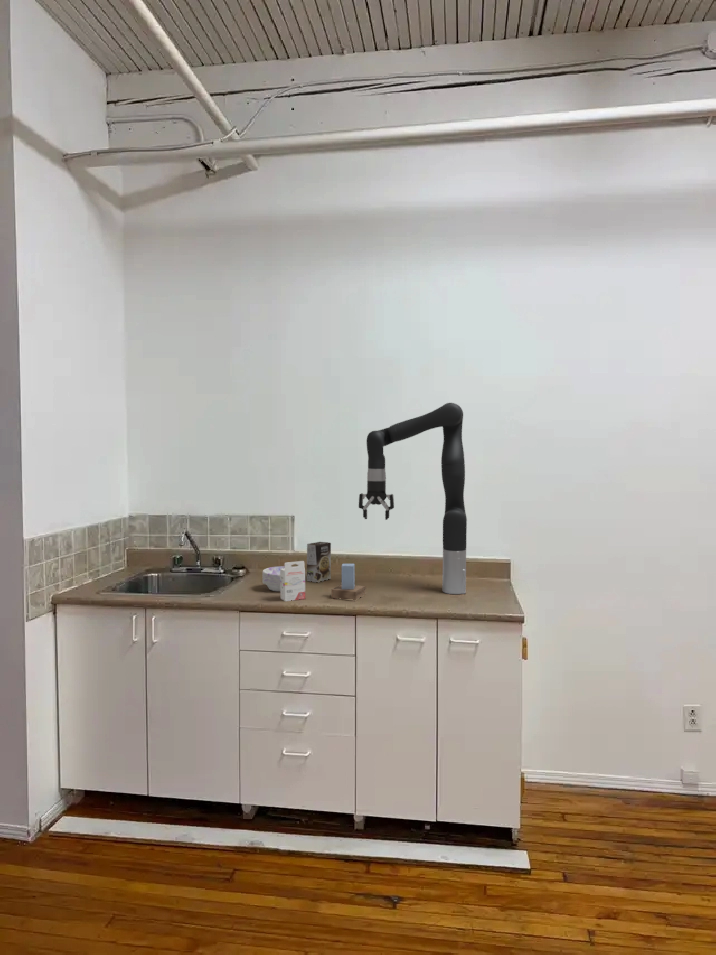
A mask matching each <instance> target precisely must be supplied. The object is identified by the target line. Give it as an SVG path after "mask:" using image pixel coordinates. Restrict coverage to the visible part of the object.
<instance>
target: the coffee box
mask: <svg viewBox="0 0 716 955" xmlns="http://www.w3.org/2000/svg"><path fill="white" fill-rule="evenodd" d="M331 548H332V543H331V542H326V541H317V542H311V543H307V544H306V581H307V582H311V581H312V583H316V582H318V583H321V582H320V581H322V582H325V581H324V580H326V581H329V580H328V579H330V580H331V576H332V573H331V572H332V570H331V566H332V565H331V564H332V562H331V559H332V558H331V556H332V553H331V552H332V551H331V550H332V549H331Z"/></svg>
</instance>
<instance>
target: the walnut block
mask: <svg viewBox="0 0 716 955" xmlns="http://www.w3.org/2000/svg"><path fill="white" fill-rule="evenodd" d="M366 587H367V586H365V585H356V584H355V587H354V589H342V583H341V584H340V585H339V584H338V585H336V586H335V587H333V588H332V589H331V599H332V598H341V599H353V600H356V599H358V598H360V597H361V596H363V595H365V594H366V589H367V588H366ZM365 596H366V595H365ZM360 599H361V598H360ZM358 600H359V599H358Z"/></svg>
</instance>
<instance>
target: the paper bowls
mask: <svg viewBox="0 0 716 955" xmlns="http://www.w3.org/2000/svg"><path fill="white" fill-rule="evenodd" d="M284 568H285V565H283V566H282V565H281V566H271V567H267V568H264V569H263V570H262V574H261V575H262V579H261V580H262V584H263V585H266V586H267V588H268V589H269V590H270V591H273V592H280V569H284Z"/></svg>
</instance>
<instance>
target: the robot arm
mask: <svg viewBox="0 0 716 955" xmlns="http://www.w3.org/2000/svg"><path fill="white" fill-rule="evenodd" d="M463 420H464V412H463V409H462V407H461V406H460V405H459V404H457V403H455V402H447V403H444V404H443V405H441V406H440V407H437V408H436V409H434V410H432V411H429V412H428V413H425V414H422V415H420V416H417V417H413V418H409V419H406V420H403V421H400V422H397V423H393V424H391V425H390V426H389V427H385V428H382V429H378V430H372V431H370V432H369V433H368V434H367V437H366V451H367V477H366V478H367V481H366V482H367V485H366V493H360V494H359V497H358V509H361V510H362V516H363V517H362V518H364V520H367V519H368V508H369V506H371V505H374V506H375V505H378V506H379V505H382V506H383V508H384V509H385V511H384V512H385V513H384V516H385V519H384V520H385V521H386V520H388V519H389V518H390V511H391V510H393V509H394V508H395V503H394V501H395V500H394V494H393V493H391V494H387V492H386V490H387V488H386V486H387V485H386V484H387V483H386V482H387V475H386V457H385V455H384V447H387V446H388V445H391V444H393V443H395V442H397V443H398V442H400V441H403V440H406V439H409V438H412V437H415V436H417V435H419V434H422V433H424V432H426V431H429V430H432V429H436V428H441V427H442V432H443V434H442V435H443V442H442V449H441V450H442V451H441V457H440V458H441V461H440V463H441V464H440V465H441V466H440V467H441V468H440V469H441V478H442V479H441V480H442V486H443V490H444V496H445V497H444V498H445V500H444V501H445V502H444V514H443V518H442V586H441V588H442V589H441V590H442V592H443V593H445V594H448V595H449V594H450V595H462V594H466V591H467V590H466V589H467V588H466V587H467V586H466V585H467V532H468V530H467V528H468V527H467V524H468V523H467V522H468V518H467V517H468V516H467V513H466V508H465V506H466V505H465V500H464V499H465V498H464V493H465V492H464V491H465V482H466V481H465V480H466V464H465V463H466V462H465V452H464V445H463ZM364 499H367V500H368V501H367V502H366V503H365V504H364ZM386 499H387V500H388V501H389V505H388V504H387V502H386V501H385V500H386ZM363 504H364V505H363Z"/></svg>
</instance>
